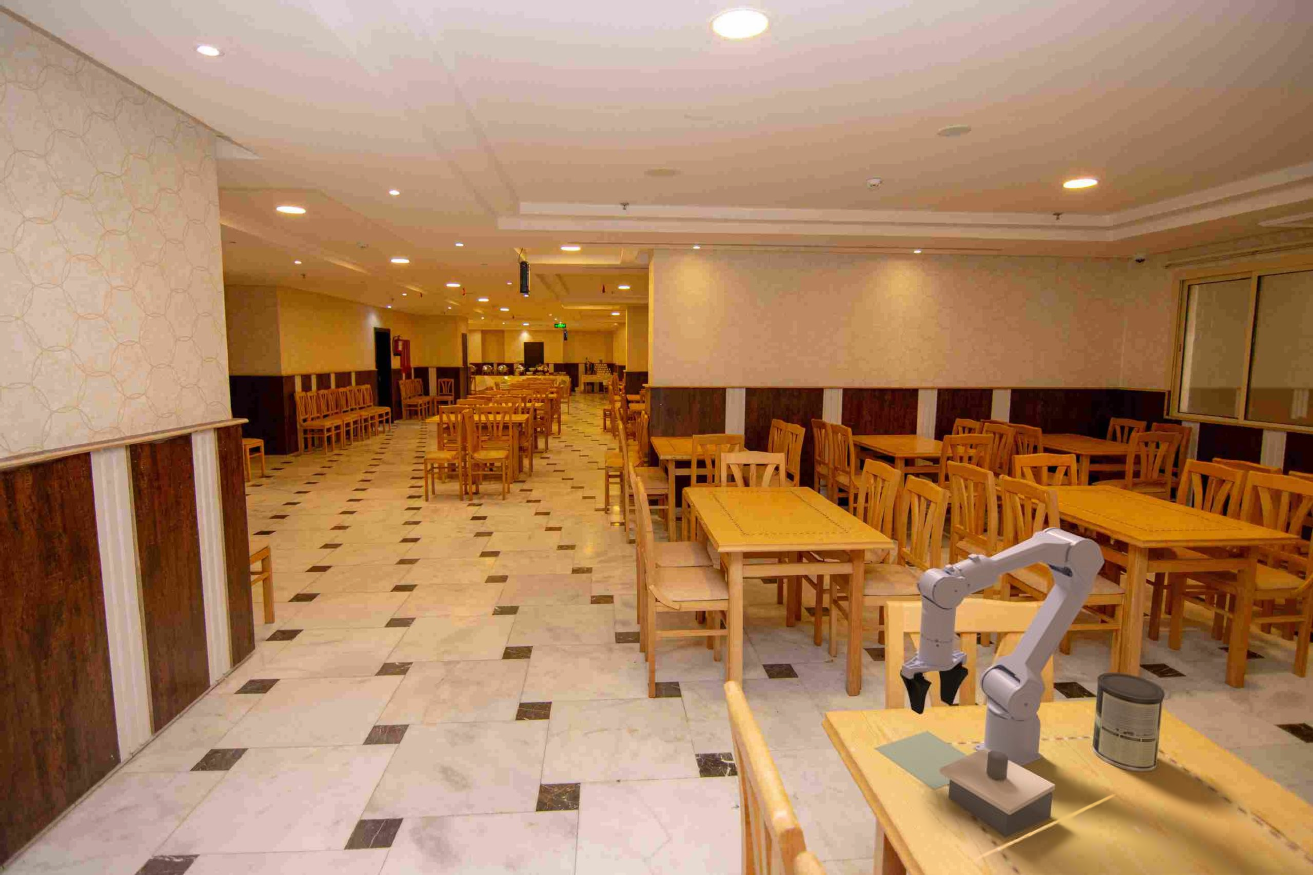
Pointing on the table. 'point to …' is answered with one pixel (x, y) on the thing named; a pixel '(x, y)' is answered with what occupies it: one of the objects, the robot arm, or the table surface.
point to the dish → (997, 817)
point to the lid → (997, 780)
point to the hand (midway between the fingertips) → (931, 707)
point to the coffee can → (1127, 721)
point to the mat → (923, 757)
